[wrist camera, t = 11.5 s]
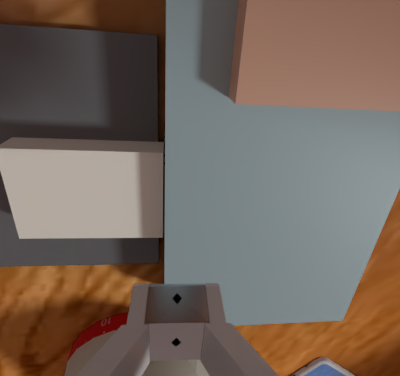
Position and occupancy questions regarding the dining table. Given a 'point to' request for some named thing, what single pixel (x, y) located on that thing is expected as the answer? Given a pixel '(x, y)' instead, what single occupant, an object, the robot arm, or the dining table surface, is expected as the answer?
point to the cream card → (84, 187)
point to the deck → (266, 183)
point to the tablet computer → (323, 369)
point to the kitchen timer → (102, 331)
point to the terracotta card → (317, 54)
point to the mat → (75, 120)
